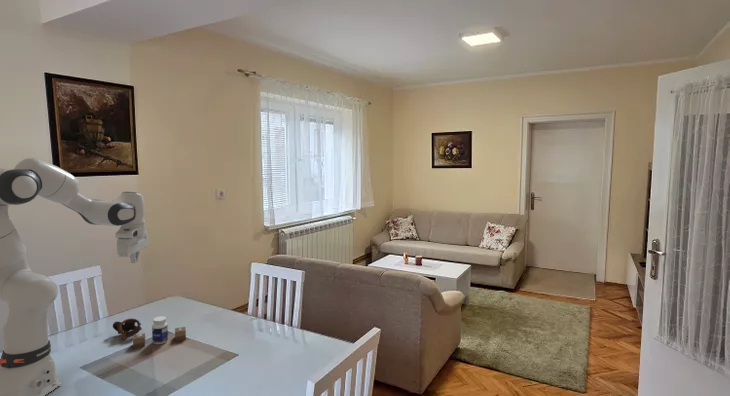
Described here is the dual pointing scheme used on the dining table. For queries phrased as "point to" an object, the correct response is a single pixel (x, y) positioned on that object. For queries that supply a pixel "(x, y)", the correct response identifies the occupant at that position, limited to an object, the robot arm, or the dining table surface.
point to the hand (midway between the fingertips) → (134, 262)
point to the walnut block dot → (139, 340)
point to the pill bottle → (159, 330)
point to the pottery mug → (127, 328)
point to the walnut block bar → (180, 333)
